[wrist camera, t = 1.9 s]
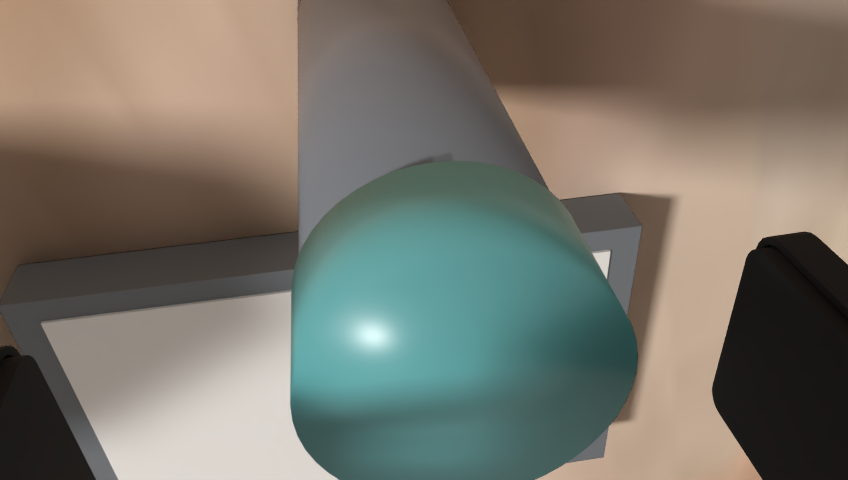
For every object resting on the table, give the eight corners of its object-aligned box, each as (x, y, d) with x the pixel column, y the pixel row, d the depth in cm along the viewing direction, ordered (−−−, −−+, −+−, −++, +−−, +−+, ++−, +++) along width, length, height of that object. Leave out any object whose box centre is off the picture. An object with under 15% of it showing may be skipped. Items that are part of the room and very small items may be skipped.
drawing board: (619, 193, 25) (643, 227, 23) (587, 420, 32) (604, 459, 30) (17, 265, 23) (-5, 308, 21) (127, 488, 30) (117, 534, 28)
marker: (443, -74, 19) (662, 233, 7) (447, 76, 21) (617, 475, 10) (282, -60, 18) (258, 284, 7) (305, 91, 21) (316, 523, 10)
